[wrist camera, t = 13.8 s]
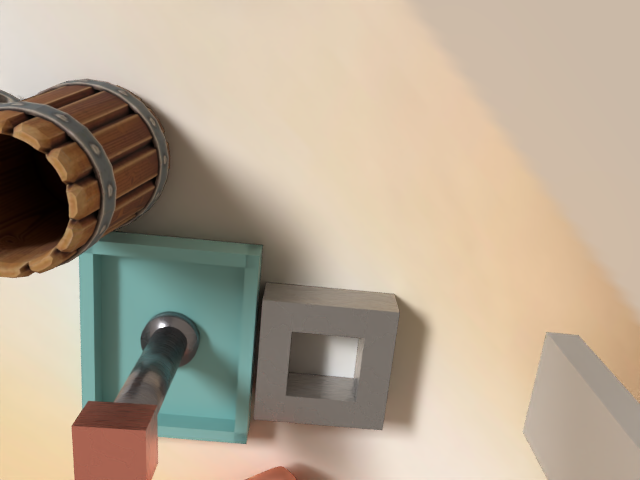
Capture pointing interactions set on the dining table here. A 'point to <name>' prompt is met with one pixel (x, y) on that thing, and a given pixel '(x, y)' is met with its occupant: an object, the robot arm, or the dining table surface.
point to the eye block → (315, 390)
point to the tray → (186, 298)
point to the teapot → (274, 475)
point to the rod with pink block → (134, 406)
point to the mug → (74, 171)
